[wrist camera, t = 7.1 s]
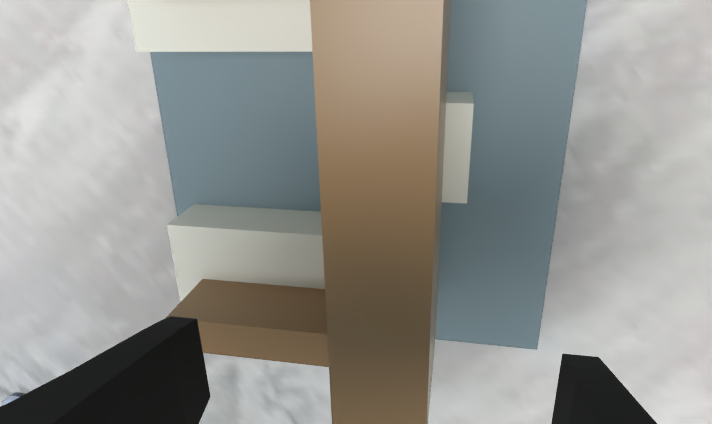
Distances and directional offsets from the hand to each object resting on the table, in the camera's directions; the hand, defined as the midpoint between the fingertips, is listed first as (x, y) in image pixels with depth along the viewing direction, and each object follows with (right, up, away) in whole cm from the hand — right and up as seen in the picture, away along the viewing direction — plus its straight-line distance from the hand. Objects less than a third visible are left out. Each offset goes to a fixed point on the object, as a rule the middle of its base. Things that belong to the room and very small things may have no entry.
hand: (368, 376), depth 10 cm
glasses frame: (-2, +5, +6) cm, 8 cm away
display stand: (0, +6, +8) cm, 10 cm away
